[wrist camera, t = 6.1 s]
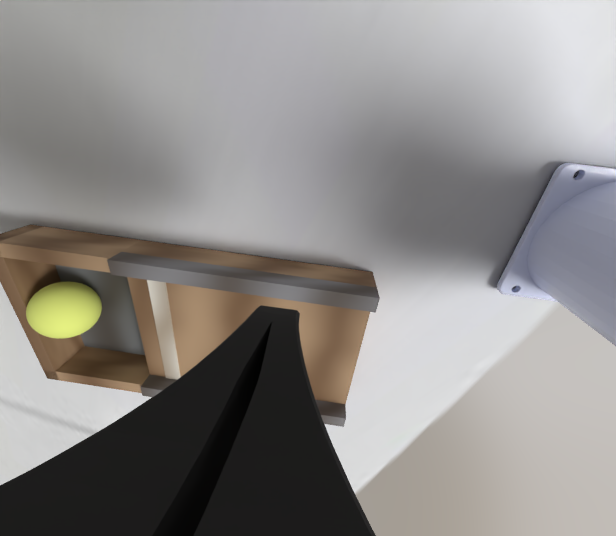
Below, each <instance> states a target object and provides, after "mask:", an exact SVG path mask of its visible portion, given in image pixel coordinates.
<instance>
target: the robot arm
mask: <svg viewBox="0 0 616 536" xmlns="http://www.w3.org/2000/svg"><path fill="white" fill-rule="evenodd" d="M578 170H579V174H578V175H577V177H575V178H573V176H574V174H575V172H576V171H578ZM514 286H517V287H516V288H514V289H512V288H513V287H514ZM497 289H498V290H499V291H500V292H501V293H502V294H507V295H514V296H521V297H528V298H536V299H543V300H550V301H557V302H559V303H560V304H562V305H563V306H564V307H566V308H567V309H568V310H570V311H571V312H572V313H573V314H575V315H576V316H577V317H579V318H580V319H581V320H582V321H584V322H585V323H586V324H588V325H589V326H590V327H592V328H593V329H594V330H595V331H597V332H598V333H599V334H601V335H602V336H603V337H605V338H606V339H607V340H609V341H610V342H611V343H612V344H614V345H615V346H616V168H608V167H600V166H592V165H584V164H576V163H564V164H562V165H560V166H559V167H558V168H557V169H556V170H555V172H554V174H553V176H552V178H551V180H550V182H549V184H548V186H547V188H546V190H545V192H544V193H543V195H542V197H541V199H540V201H539V203H538V205H537V207H536V209H535V211H534V213H533V215H532V217H531V219H530V221H529V223H528V225H527V227H526V229H525V231H524V233H523V235H522V237H521V239H520V241H519V243H518V245H517V247H516V248H515V250H514V252H513V254H512V256H511V258H510V260H509V262H508V264H507V266H506V268H505V270H504V272H503V274H502V276H501V278H500V280H499V282H498V284H497ZM299 318H300V313H299V312H298V311H297V310H292V309H285V308H277V307H270V306H262V305H261V306H259V307H258V308H257V309H256V310H255V311H254V312H253V313H252V314H251V315H250V316H249V317H248V318H247V319H246V320H245V321H244V322H243V323H242V324H241V325H240V326H239V327H238V328H237V329H236V330H235V331H234V332H233V333H232V334H231V335H230V336H229V337H228V338H227V339H225V340H224V341H223V342H222V343H221V344H220V345H219V346H218V347H217V348H216V349H214V350H213V351H212V352H211V353H210V354H209V355H207V356H206V357H205V358H204V359H203V360H201V361H200V362H199V363H198V364H197V365H195V366H194V367H193V368H192V369H190V370H189V371H188V372H187V373H185V374H184V375H183V376H181V377H180V378H179V379H177V380H176V381H175V382H173V383H172V384H171V385H169V386H168V387H166V388H165V389H164V390H162V391H161V392H159V393H158V394H157V395H155V396H154V397H152V398H151V399H149V400H148V401H146V402H145V403H143V404H142V405H140V406H139V407H137V408H136V409H134V410H133V411H131V412H130V413H128V414H126V415H125V416H123V417H122V418H120V419H119V420H117V421H115V422H114V423H112V424H111V425H109V426H107V427H106V428H104V429H102V430H100V431H99V432H97V433H95V434H94V435H92V436H90V437H88V438H87V439H85V440H83V441H81V442H80V443H78V444H76V445H74V446H73V447H71V448H69V449H68V450H66V451H64V452H62V453H61V454H59V455H57V456H55V457H54V458H52V459H50V460H48V461H46V462H44V463H43V464H41V465H39V466H37V467H35V468H33V469H31V470H30V471H28V472H26V473H24V474H22V475H20V476H18V477H16V478H14V479H12V480H10V481H8V482H6V483H4V484H2V485H0V536H376V535H375V533H374V531H373V530H372V528H371V526H370V524H369V522H368V520H367V518H366V516H365V514H364V512H363V510H362V508H361V506H360V504H359V502H358V500H357V498H356V495H355V493H354V491H353V489H352V487H351V485H350V483H349V481H348V478H347V476H346V474H345V472H344V469H343V467H342V465H341V463H340V461H339V458H338V456H337V454H336V452H335V449H334V447H333V445H332V443H331V440H330V438H329V435H328V433H327V430H326V427H325V425H324V422H323V420H322V417H321V414H320V411H319V409H318V406H317V403H316V400H315V397H314V394H313V391H312V388H311V384H310V381H309V377H308V374H307V370H306V366H305V362H304V357H303V352H302V347H301V341H300V333H299Z"/></svg>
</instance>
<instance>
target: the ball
mask: <svg viewBox="0 0 616 536" xmlns="http://www.w3.org/2000/svg"><path fill="white" fill-rule="evenodd" d="M101 311H102V303H101V300H100V297H99V296H98V294H97V293H96V292H95V291H94V290H93V289H92V288H90V287H88V286H87V285H84V284H82V283H77V282H70V281H68V282H58V283H54V284H51V285H48V286H46V287H44V288H42V289H40V290H39V291H38V292H37V293H35V294H34V295H33V296H32V298H31V299H30V301H29V303H28V305H27V308H26V317H27V321H28V323H29V324H30V326H31V327H32V328H33V329H34V330H35V331H36V332H38V333H39V334H41V335H44V336H46V337H50V338H70V337H74V336H77V335H80V334H82V333H84V332H86V331H87V330H89V329H90V328H91V327H92V326H93V325H94V324H95V323H96V322H97V321H98V319H99V317H100V315H101Z"/></svg>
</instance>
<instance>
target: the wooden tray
mask: <svg viewBox="0 0 616 536" xmlns="http://www.w3.org/2000/svg"><path fill="white" fill-rule="evenodd" d="M68 281H70V282H77V283H82V284H84V285H87V286H88V287H90V288H92V289H93V290H94V291H95V292H96V293H97V294H98V296H99V297H100V300H101V303H102V311H101V315H100V317H99V319H98V321H97V322H96V323H95V324H94V325H93V326H92V327H91V328H90V329H89V330H87V331H86V332H84V333H82V334H80V335H77V336H74V337H70V338H50V337H46V336H44V335H41V334H39V333H38V332H36V331H35V330H34V329H33V328H32V327H31V326H30V324H29V323H28V321H27V317H26V308H27V305H28V303H29V301H30V299H31V298H32V296H33V295H34V294H35V293H37V292H38V291H39V290H40V289H42V288H44V287H46V286H48V285H51V284H54V283H58V282H68ZM0 282H1V284H2V286H3V288H4V290H5V292H6V294H7V296H8V298H9V300H10V302H11V304H12V306H13V309H14V311H15V313H16V315H17V317H18V319H19V321H20V323H21V325H22V327H23V329H24V331H25V333H26V335H27V337H28V339H29V341H30V344H31V346H32V348H33V350H34V352H35V354H36V356H37V358H38V360H39V362H40V364H41V366H42V368H43V370H44V372H45V374H46V376H47V378H48V379H55V380H61V381H68V382H74V383H81V384H87V385H94V386H100V387H106V388H113V389H119V390H126V391H132V392H139V393H142V395H143V396H149V397H154V396H155V395H157V394H158V393H159V392H161V391H162V390H164V389H165V388H166V387H168V386H169V385H171V384H172V383H173V382H175V381H176V380H177V379H179V378H180V377H181V376H183V375H184V374H185V373H187V372H188V371H189V370H190V369H192V368H193V367H194V366H195V365H197V364H198V363H199V362H200V361H201V360H203V359H204V358H205V357H206V356H207V355H209V354H210V353H211V352H212V351H213V350H214V349H216V348H217V347H218V346H219V345H220V344H221V343H222V342H223V341H224V340H225V339H227V338H228V337H229V336H230V335H231V334H232V333H233V332H234V331H235V330H236V329H237V328H238V327H239V326H240V325H241V324H242V323H243V322H244V321H245V320H246V319H247V318H248V317H249V316H250V315H251V314H252V313H253V312H254V311H255V310H256V309H257V308H258V307H259V306H261V305H262V306H270V307H277V308H285V309H292V310H297V311H298V312H299V313H300V318H299V333H300V341H301V347H302V352H303V357H304V362H305V366H306V370H307V374H308V377H309V381H310V384H311V388H312V391H313V394H314V397H315V400H316V403H317V406H318V409H319V411H320V414H321V417H322V420H323V422H324V424H330V425H336V426H343V427H344V423H345V420H346V411H345V403H346V400H347V396H348V392H349V388H350V385H351V381H352V377H353V373H354V370H355V366H356V362H357V359H358V355H359V351H360V347H361V344H362V340H363V336H364V332H365V329H366V325H367V321H368V318H369V314H370V312H376V309H377V305H378V302H379V295H378V291H377V287H376V283H375V280H374V276H373V272H368V271H361V270H354V269H347V268H340V267H332V266H325V265H318V264H311V263H304V262H296V261H289V260H282V259H275V258H268V257H260V256H253V255H246V254H239V253H231V252H224V251H217V250H210V249H203V248H195V247H188V246H181V245H174V244H167V243H159V242H152V241H145V240H138V239H131V238H123V237H116V236H109V235H102V234H94V233H87V232H80V231H73V230H66V229H58V228H51V227H44V226H37V225H27V226H24V227H21V228H18V229H15V230H11V231H8V232H5V233H2V234H0Z"/></svg>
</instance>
